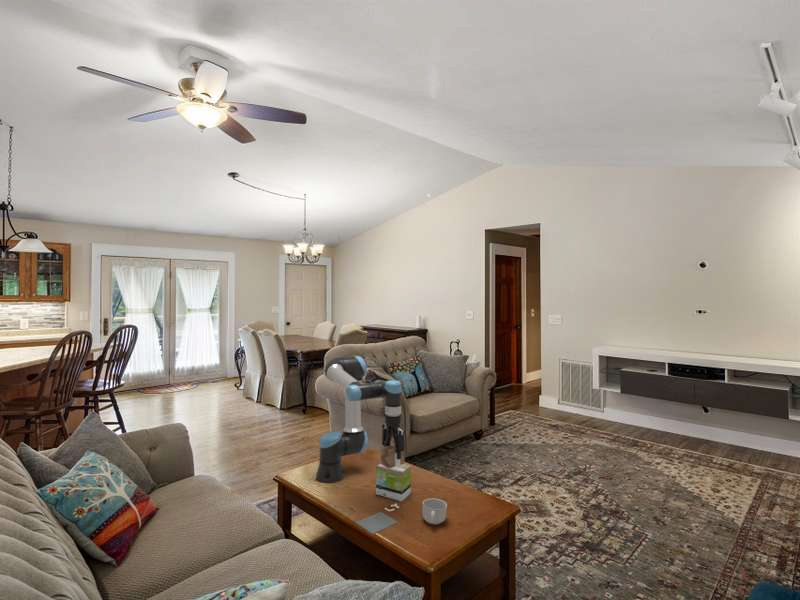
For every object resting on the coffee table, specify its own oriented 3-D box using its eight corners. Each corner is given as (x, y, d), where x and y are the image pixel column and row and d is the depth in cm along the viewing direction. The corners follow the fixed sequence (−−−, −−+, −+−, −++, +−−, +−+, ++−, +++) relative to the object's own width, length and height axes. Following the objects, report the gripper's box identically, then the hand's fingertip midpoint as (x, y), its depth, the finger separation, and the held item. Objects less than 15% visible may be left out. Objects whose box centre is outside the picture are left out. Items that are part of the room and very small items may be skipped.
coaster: (355, 522, 191) (355, 522, 190) (380, 512, 200) (380, 511, 200) (372, 534, 181) (372, 533, 181) (398, 523, 191) (398, 522, 191)
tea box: (375, 495, 217) (375, 465, 217) (385, 487, 226) (385, 459, 225) (402, 502, 210) (402, 471, 210) (411, 493, 219) (411, 464, 218)
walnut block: (381, 464, 203) (381, 447, 203) (395, 459, 209) (396, 443, 209) (389, 468, 199) (389, 451, 199) (404, 463, 205) (404, 446, 205)
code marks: (384, 508, 204) (384, 508, 204) (396, 503, 208) (396, 503, 208) (389, 511, 200) (389, 511, 200) (401, 506, 205) (401, 506, 205)
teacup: (426, 513, 199) (426, 495, 199) (449, 517, 196) (449, 500, 195) (416, 528, 186) (416, 509, 186) (441, 533, 183) (441, 514, 182)
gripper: (374, 411, 208) (373, 459, 209) (400, 420, 194) (400, 472, 194) (386, 408, 213) (386, 455, 214) (412, 417, 199) (412, 467, 199)
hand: (392, 463), depth 204 cm, fingers closed on walnut block, 6 cm apart
